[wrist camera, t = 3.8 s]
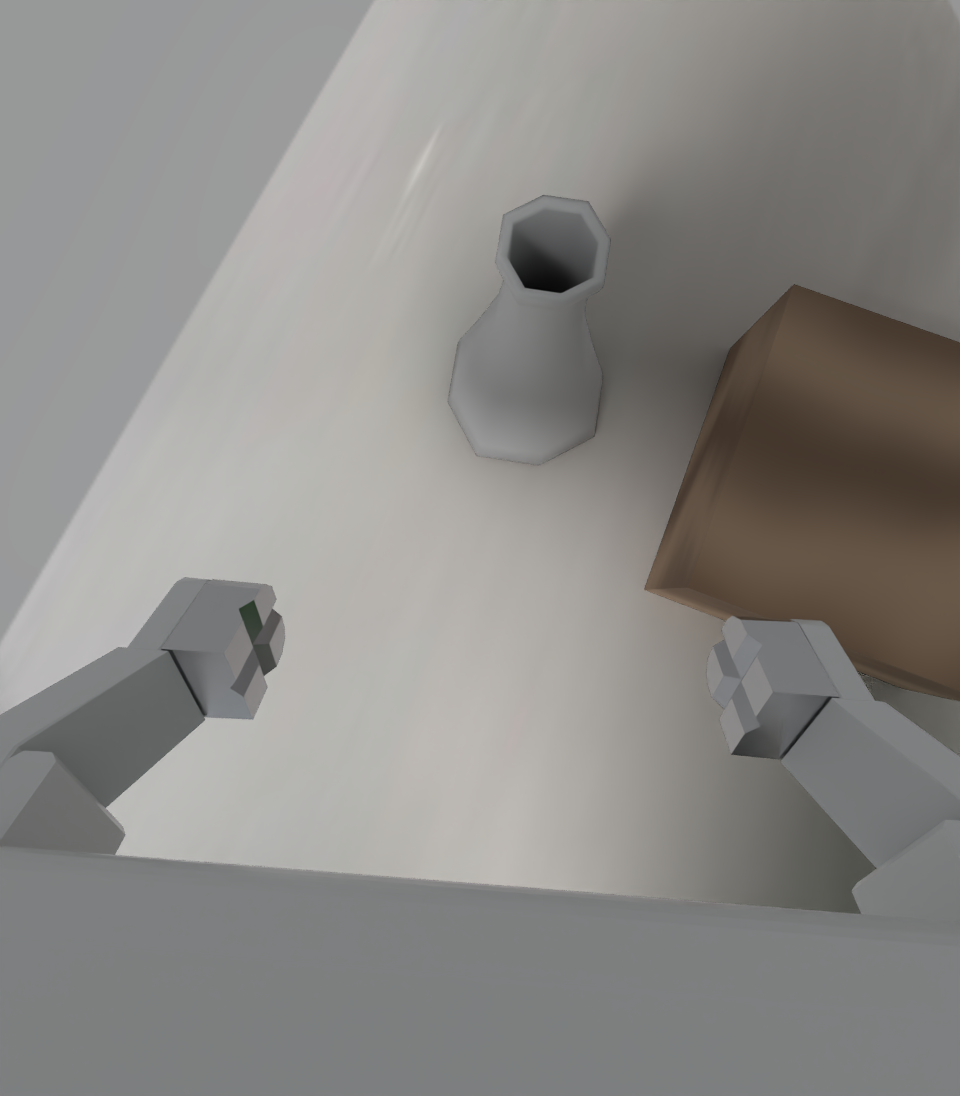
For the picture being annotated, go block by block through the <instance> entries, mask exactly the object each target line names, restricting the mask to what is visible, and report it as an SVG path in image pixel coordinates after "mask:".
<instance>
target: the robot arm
mask: <svg viewBox="0 0 960 1096" xmlns="http://www.w3.org/2000/svg"><path fill="white" fill-rule="evenodd" d="M276 600H277V599H276V596H275V593H274V591H273V588H272V586H270V585H267V584H258V583H247V582H236V581H225V580H214V579H212V580H209V579H198V578H187V577H185V578H183V579H181V580H179V581H177V582H176V583H175V584H174V586H173V587H172V588H171V590H170V591H169V592H168V594H167V595H166V596H165V598H164V599H163V600H162V602H161V603H160V604H159V606H158V607H157V608H156V610H155V611H154V612H153V614H152V615H151V616H150V618H149V619H148V620H147V622H146V623H145V624H144V626H143V627H142V629H141V630H140V631H139V633H138V634H137V635H136V637H135V638H134V639H133V641H132V642H131V643H130V645H129V646H128V647H127V648H122V647H118V648H116V649H115V650H113V651H111V652H109V653H108V654H106V655H104V656H102V657H101V658H99V659H97V660H95V661H94V662H92V663H90V664H88V665H87V666H85V667H83V668H81V669H80V670H78V671H76V672H74V673H73V674H71V675H69V676H67V677H66V678H64V679H62V680H60V681H59V682H57V683H55V684H53V685H52V686H50V687H48V688H46V689H45V690H43V691H41V692H39V693H38V694H36V695H34V696H33V697H31V698H29V699H27V700H26V701H24V702H22V703H20V704H19V705H17V706H15V707H13V708H12V709H10V710H8V711H6V712H5V713H3V714H1V715H0V1096H960V756H958V755H957V754H956V753H954V752H953V751H951V750H950V749H949V748H947V747H946V746H945V745H943V744H942V743H941V742H939V741H938V740H936V739H935V738H934V737H932V736H931V735H930V734H928V733H927V732H925V731H924V730H923V729H921V728H920V727H919V726H917V725H916V724H914V723H913V722H912V721H910V720H909V719H908V718H906V717H905V716H904V715H902V714H901V713H899V712H898V711H897V710H895V709H894V708H893V707H891V706H890V705H888V704H887V703H886V702H882V701H875V700H874V698H873V697H872V695H871V693H870V692H869V690H868V688H867V687H866V685H865V684H864V682H863V680H862V679H861V677H860V676H859V674H858V672H857V671H856V669H855V667H854V666H853V664H852V663H851V661H850V659H849V658H848V656H847V654H846V653H845V651H844V650H843V648H842V646H841V645H840V643H839V642H838V640H837V638H836V637H835V635H834V633H833V632H832V630H831V629H830V627H829V626H828V625H827V624H825V623H824V622H823V621H817V620H800V619H790V620H789V619H783V618H766V617H749V616H731V617H730V618H729V619H727V620H726V622H725V624H724V626H723V628H722V630H721V631H722V633H723V636H724V638H725V640H723V641H721V642H720V643H718V644H716V645H715V646H713V648H712V650H711V652H710V654H709V657H708V659H707V670H706V676H707V683H708V687H709V690H710V694H711V697H712V698H713V699H714V700H715V701H716V702H717V703H718V704H719V705H720V706H721V707H722V708H724V710H723V713H722V715H721V717H720V719H719V721H720V724H721V727H722V730H723V733H724V736H725V739H726V742H727V744H728V747H729V750H730V753H731V755H741V756H751V757H761V758H771V759H781V763H782V764H783V765H784V766H785V768H786V769H787V770H788V771H789V772H790V773H791V774H792V775H793V776H794V778H795V779H796V780H797V781H798V782H799V783H800V784H801V785H802V786H803V787H804V789H805V790H806V791H807V792H808V793H809V794H810V795H811V796H812V797H813V799H814V800H815V801H816V802H817V803H818V804H819V805H820V806H821V807H822V809H823V810H824V811H825V812H826V813H827V814H828V815H829V816H830V817H831V819H832V820H833V821H834V822H835V823H836V824H837V825H838V826H839V827H840V829H841V830H842V831H843V832H844V833H845V834H846V835H847V836H848V837H849V839H850V840H851V841H852V842H853V843H854V844H855V845H856V846H857V847H858V849H859V850H860V851H861V852H862V853H863V854H864V855H865V856H866V857H867V858H868V860H869V861H870V862H871V863H872V864H873V865H874V866H875V867H876V868H877V869H875V870H874V871H873V872H871V873H870V874H868V875H867V876H866V877H864V878H863V879H861V880H860V881H859V882H857V883H856V885H855V886H854V888H853V890H852V893H853V896H854V898H855V901H856V903H857V905H858V908H859V910H860V912H861V914H855V913H842V912H830V911H817V910H804V909H792V908H779V907H767V906H754V905H741V904H729V903H716V902H704V901H691V900H678V899H666V898H653V897H641V896H628V895H615V894H603V893H590V892H578V891H565V890H552V889H540V888H527V887H515V886H502V885H489V884H477V883H464V882H452V881H439V880H426V879H414V878H401V877H389V876H376V875H363V874H351V873H338V872H325V871H313V870H300V869H287V868H275V867H262V866H249V865H237V864H224V863H211V862H199V861H186V860H173V859H161V858H148V857H135V856H122V855H115V853H116V852H117V850H118V848H119V846H120V844H121V842H122V840H123V838H124V837H125V832H124V828H123V826H122V825H121V824H120V823H119V822H118V821H117V820H116V819H115V817H114V816H113V815H112V814H111V813H110V812H109V811H108V810H107V809H106V807H107V806H108V805H110V804H111V803H112V802H113V801H114V800H115V799H116V798H117V797H119V796H120V795H121V794H122V793H123V792H124V791H125V790H127V789H128V788H129V787H130V786H131V785H132V784H133V783H134V782H136V781H137V780H138V779H139V778H140V777H141V776H142V775H143V774H145V773H146V772H147V771H148V770H149V769H150V768H151V767H153V766H154V765H155V764H156V763H157V762H158V761H159V760H160V759H162V758H163V757H164V756H165V755H166V754H167V753H168V752H169V751H171V750H172V749H173V748H174V747H175V746H176V745H177V744H179V743H180V742H181V741H182V740H183V739H184V738H185V737H186V736H188V735H189V734H190V733H191V732H192V731H193V730H194V729H195V728H197V727H198V726H199V725H200V724H201V723H202V722H203V721H205V718H204V717H211V718H233V719H254V716H255V714H256V712H257V710H258V708H259V705H260V703H261V701H262V699H263V696H264V694H265V692H266V690H267V684H266V681H265V678H264V676H265V675H266V674H267V673H269V672H270V671H271V670H273V669H274V668H275V667H277V665H278V662H279V660H280V657H281V655H282V652H283V646H284V641H285V627H284V623H283V619H282V616H281V615H279V614H278V613H277V612H276V611H275V610H273V609H272V608H273V606H274V604H275V602H276Z"/></svg>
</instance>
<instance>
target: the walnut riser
mask: <svg viewBox="0 0 960 1096" xmlns="http://www.w3.org/2000/svg"><path fill="white" fill-rule="evenodd" d="M644 590H647V591H649V592H652V593H655V594H657V595H660V596H662V597H665V598H668V599H670V600H673V601H675V602H678V603H681V604H683V605H686V606H689V607H691V608H694V609H696V610H699V611H702V612H704V613H707V614H709V615H712V616H715V617H717V618H720V619H723V620H725V621H726V620H727V619H729V618H730V617H731V616H749V617H766V618H783V619H789V620H790V619H800V620H817V621H823V622H824V623H825V624H827V625H828V626H829V627H830V629H831V630H832V632H833V633H834V635H835V637H836V638H837V640H838V642H839V643H840V645H841V646H842V648H843V650H844V651H845V653H846V654H847V656H848V658H849V659H850V661H851V663H852V664H853V666H854V667H855V669H856V671H859V672H861V673H864V674H866V675H869V676H872V677H874V678H877V679H879V680H882V681H885V682H887V683H890V684H893V685H895V686H898V687H900V688H903V689H907V690H911V691H916V692H920V693H925V694H930V695H934V696H939V697H943V698H948V699H952V700H957V701H960V343H959V342H957V341H954V340H951V339H948V338H945V337H942V336H940V335H937V334H934V333H931V332H928V331H925V330H923V329H920V328H917V327H914V326H911V325H908V324H906V323H903V322H900V321H897V320H894V319H891V318H888V317H886V316H883V315H880V314H877V313H874V312H871V311H869V310H866V309H863V308H860V307H857V306H854V305H852V304H849V303H846V302H843V301H840V300H837V299H835V298H832V297H829V296H826V295H823V294H820V293H817V292H815V291H812V290H809V289H806V288H803V287H800V286H798V285H795V284H794V285H793V286H792V287H791V288H790V289H789V290H788V291H787V292H786V293H785V294H784V295H783V296H782V297H781V298H780V299H779V300H778V301H777V302H776V303H775V304H774V305H773V306H772V307H771V308H770V309H769V310H768V311H767V312H766V313H765V314H764V315H763V316H762V317H761V318H760V319H759V320H758V321H757V322H756V323H755V324H754V325H753V326H752V327H751V328H750V329H749V330H748V331H747V332H746V333H745V334H744V335H743V336H742V337H741V338H740V339H739V340H738V341H737V342H736V343H735V344H734V345H733V346H732V347H731V348H730V351H729V353H728V356H727V359H726V362H725V365H724V367H723V370H722V373H721V376H720V379H719V381H718V384H717V387H716V390H715V393H714V395H713V398H712V401H711V404H710V407H709V409H708V412H707V415H706V418H705V421H704V423H703V426H702V429H701V432H700V435H699V437H698V440H697V443H696V446H695V449H694V451H693V454H692V457H691V460H690V463H689V465H688V468H687V471H686V474H685V477H684V479H683V482H682V485H681V488H680V491H679V493H678V496H677V499H676V502H675V505H674V507H673V510H672V513H671V516H670V519H669V522H668V524H667V527H666V530H665V533H664V536H663V538H662V541H661V544H660V547H659V550H658V552H657V555H656V558H655V561H654V564H653V566H652V569H651V572H650V575H649V578H648V580H647V583H646V586H645V589H644Z"/></svg>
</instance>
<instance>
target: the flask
mask: <svg viewBox="0 0 960 1096" xmlns="http://www.w3.org/2000/svg"><path fill="white" fill-rule="evenodd" d="M610 241H611V239H610V237H609V235H608V234H607V232H606V230H605V229H604V227H603V225H602V223H601V222H600V220H599V218H598V217H597V215H596V213H595V212H594V210H593V208H592V206H591V205H590V203H589V201H582V200H575V199H568V198H561V197H555V196H548V195H542V196H540V197H538V198H536V199H534V200H532V201H530V202H528V203H526V204H524V205H522V206H520V207H518V208H516V209H514V210H512V211H510V212H508V213H506V214H504V215H503V219H502V225H501V231H500V237H499V243H498V249H497V254H496V262H495V263H496V266H497V269H498V270H499V272H500V274H501V276H502V278H503V279H504V280H503V283H502V286H501V288H500V291H499V294H498V295H497V297H496V298H495V299H494V301H493V302H492V303H491V304H490V306H489V307H488V308H487V310H486V311H485V312H484V313H483V315H482V316H481V317H480V319H479V320H478V321H477V322H476V323H475V324H474V325H473V326H472V327H471V328H470V329H469V330H468V331H467V333H466V334H465V335H464V336H463V337H462V338H461V339H460V341H459V342H458V345H457V351H456V356H455V362H454V368H453V374H452V379H451V385H450V391H449V397H448V403H449V405H450V407H451V409H452V411H453V413H454V414H455V416H456V418H457V420H458V422H459V424H460V426H461V428H462V429H463V431H464V433H465V435H466V437H467V439H468V441H469V442H470V444H471V446H472V448H473V450H474V452H475V454H476V456H482V457H489V458H495V459H501V460H508V461H514V462H521V463H527V464H533V465H541V464H543V463H544V462H546V461H548V460H550V459H552V458H554V457H556V456H558V455H560V454H562V453H564V452H566V451H568V450H570V449H571V448H573V447H575V446H577V445H579V444H581V443H583V442H585V441H587V440H589V439H591V438H593V437H594V435H595V428H596V422H597V415H598V408H599V401H600V394H601V387H602V380H603V375H602V371H601V368H600V365H599V362H598V359H597V356H596V353H595V350H594V348H593V344H592V340H591V336H590V332H589V328H588V324H587V320H586V316H585V306H586V302H587V298H588V297H589V296H591V295H593V294H595V293H597V292H599V291H600V290H601V289H602V288H603V285H604V282H605V275H606V268H607V261H608V255H609V248H610Z"/></svg>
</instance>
